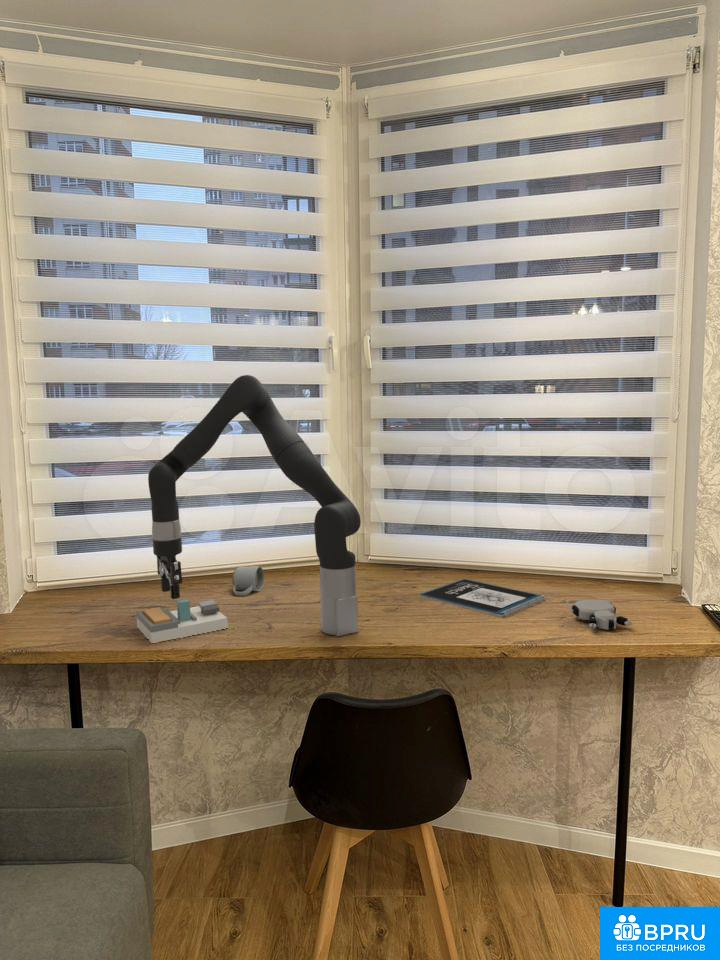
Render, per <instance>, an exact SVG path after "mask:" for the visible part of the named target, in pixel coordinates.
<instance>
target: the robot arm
mask: <svg viewBox="0 0 720 960" xmlns="http://www.w3.org/2000/svg"><path fill="white" fill-rule="evenodd" d="M241 413H242V414H244V416H246V418H247V419H248V420H249V421H250V422H251V423H252V425H253V426H254V427H255V428H256V429H257V430H258V431H259V432H260V435H261V436H262V438H263V440H264V442H265V445H266V447H267V449H268V452H269V453H270V455H271V457H272V458H273V460H274V462H275V463H276V464H277V466H278V468H279V469H280V470H281V472H282V474H283V475H285V477H286V478H288V480H290V481H291V482H292V483H293V484H295V485H296V486H297V487H299V488H300V489H302V490H303V491H305V492H306V493H307V494H309V495H311V496H312V497H313V499H314V500H315V501H317V503H318V504H319V506H320V508H319V509H317V512H316V514H315V516H314V522H313V523H314V527H313V528H314V541H315V553H316V555H317V559H318V561H319V582H320V583H319V587H320V588H319V591H320V618H321V619H320V620H321V621H320V623H321V631H322V632H323V633H324V634H327V635H332V636H336V637H340V636H346V635H350V633H351V634H354V633H358V632H359V614H358V613H359V610H358V609H359V608H358V607H359V606H358V605H359V604H358V596H357V577H356V575H357V573H356V572H357V570H356V568H357V567H356V563H357V561H356V554H355V553H354V552H352V551H350V550H348V548H347V547H348V545H347V538H348V537H351V536H352V535H354V534H356V533H357V532H358V531H359V530H360V527H361V524H362V523H361V522H362V521H361V515H360V513H359V510H358V509H357V507H356V506H355V504H354V503H353V502H352V501H351V499H349V497H347V495H346V494H345V493H344V492H343V491H342V490H341V488H339V487H338V485H336V483H335V482H334V481H333V479H332V478H331V476H330V475H329V474H328V472H327V471H326V470H325V469H324V467H323V466H322V464H321V463H320V462H319V460H318V459H317V458H316V457H315V455H314V453H313V452H312V450H311V449H310V448H309V446H308V445H307V443H306V442H305V441H304V440H303V438H302V437H301V436H300V435H299V433H298V432H297V431H296V430H295V429H294V428H293V427H292V426H291V425H290V424H289V422H287V421H286V419H284V417H283V416H282V414H281V413H280V411H279V410H278V408H277V407H276V404H275V403H274V401H273V400H272V397H271V395H270V393H269V391H268V390H267V388H266V387H265V386H264V384H263V383H262V382H261V381H260V380H259V379H258V378H257V377H255V376H254V375H252V374H251V375H250V374H244V375H240V376H239V377H237V378H235V380H233V381H232V382H231V384H230V385H229V386H228V388H226V390H225V391H224V392H223V394H222V396H221V397H220V398H219V400H217V402H216V403H215V404H214V405H213V407H212V408H211V409H210V410H209V411H208V413H207V414H206V415H205V416H204V417H203V418H202V419H201V420H200V422H199V423H198V424H197V425H196V426H195V427H193V429H192V430H191V431H190V432H188V433H187V434H186V435H185V436H184V437H183V438H182V439H181V440H180V441H179V442H178V443H177V444H176V445H175V446H174V447H173V449H172V450H171V451H170V452H169V453H167V454H166V455H165V456H164V457H163V458H162V459H160V460H159V461H158V462H157V463H155V464H154V466H153V467H151V469H150V470H149V472H148V477H147V481H148V488H149V489H148V490H149V495H150V500H151V521H152V523H151V524H152V525H151V535H152V550H153V554H154V556H156V566H157V575H158V576H159V578H160V583H161V585H160V586H161V592H164V593H165V592H169V591H170V599H172V600H176V599H180V597H181V595H180V593H181V592H180V585H181V584H183V577H182V566H181V565H182V563H181V561H180V560H177V558H176V556H178V555H180V554H181V553H182V552H183V545H182V544H183V543H182V542H183V541H182V540H183V539H182V527H181V522H180V511H179V510H180V509H179V503H178V500H177V491H176V490H177V489H176V488H177V486H176V484H177V483H176V482H177V481H178V480H179V479H180V478H181V477H182V476H183V475H184V474H185V473H186V471H187V470H189V468H191V467H193V466H195V464H197V463H198V462H199V461H200V460H201V459H202V458H203V457H204V456H205V455H206V454H207V453H209V451H210V450H211V449H213V446H215V445H216V442H217V441H218V439H219V438H220V436H221V434H222V433H223V432H224V429H226V427H227V426H228V425H229V423H231V421H232V420H233V419H235V417H236V416H238V415H240V414H241Z"/></svg>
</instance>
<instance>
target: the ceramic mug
mask: <svg viewBox="0 0 720 960" xmlns="http://www.w3.org/2000/svg"><path fill="white" fill-rule="evenodd" d="M231 578H232V579H231V581H232V586H233V588H232V591H233V593H234V595H236V596H238V597H245V596H247V595H249V594H251V592H260V591H262V589H263V588H264V584H265V571H264V569H263V567H262V566H260V565H256V566H255V565H253V566H251V565H250V566H238V567H236V568H235V569H234V571H233V572H232V576H231ZM237 590H238V591H237Z"/></svg>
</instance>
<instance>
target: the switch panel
mask: <svg viewBox="0 0 720 960" xmlns="http://www.w3.org/2000/svg"><path fill="white" fill-rule="evenodd" d="M159 608H160V609H161V610H162V611H163V612H164V613H165V614H166V615H167V616H168V617H170V618H171V621H170V622H165V623H160V624H155V625H154V624H153V623H152V622H151V621H150V620H149V619H148V618H147V617H146V616H145V615H144V614H143V610H139V611H136V628H139V630H140V631H141V632H142V633H143V634H144V635H145V636H146V637H147V638H148V639H149V641H150V642H151V643H155V642H159V641H164V640H169V639H176V638H181V639H184V638H183V637H186V636H191V637H193V636H192V635H196V636H198V635H197V634H201V635H203V634H202V633H205V634H208V633H207V632H210V633H212V632H211V631H215V632H217V631H216V630H220V631H222V630H221V629H225V630H227V629H226V628H228V629H229V626H228V624H229V623H228V617H227V616H226V615H224V614H223V613H222V612H220V611H219V612H215V613H210V614H204V613H201V609H200V607H199V605H197V606H192V607H191V606H190V616H191V620H186V621H181V622H180V620H179V619H178V614H177V609H175V610H169V609H165V608H164V607H163V606H162V607H159ZM139 630H138V631H139ZM140 631H139V632H140ZM141 632H140V633H141ZM142 633H141V634H142ZM143 634H142V635H143ZM144 635H143V636H144ZM145 636H144V637H145ZM186 638H187V637H186ZM176 640H177V639H176ZM149 641H148V642H149ZM150 642H149V643H150ZM151 643H150V644H151Z"/></svg>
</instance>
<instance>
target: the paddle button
mask: <svg viewBox="0 0 720 960" xmlns="http://www.w3.org/2000/svg"><path fill="white" fill-rule="evenodd" d="M142 611H143V614H144V615H145V616H146V617H147V618H148V619H149V620H150V621H151V622H152V623H153V624H154V625H155V624H160V623H165V622H170V621H171V618H170V617H168V616H167V615H166V614H165V613H164V612H163V611H162V610H161V609H160V607H159V606H157V607H152V608H145V609H143V610H142Z"/></svg>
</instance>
